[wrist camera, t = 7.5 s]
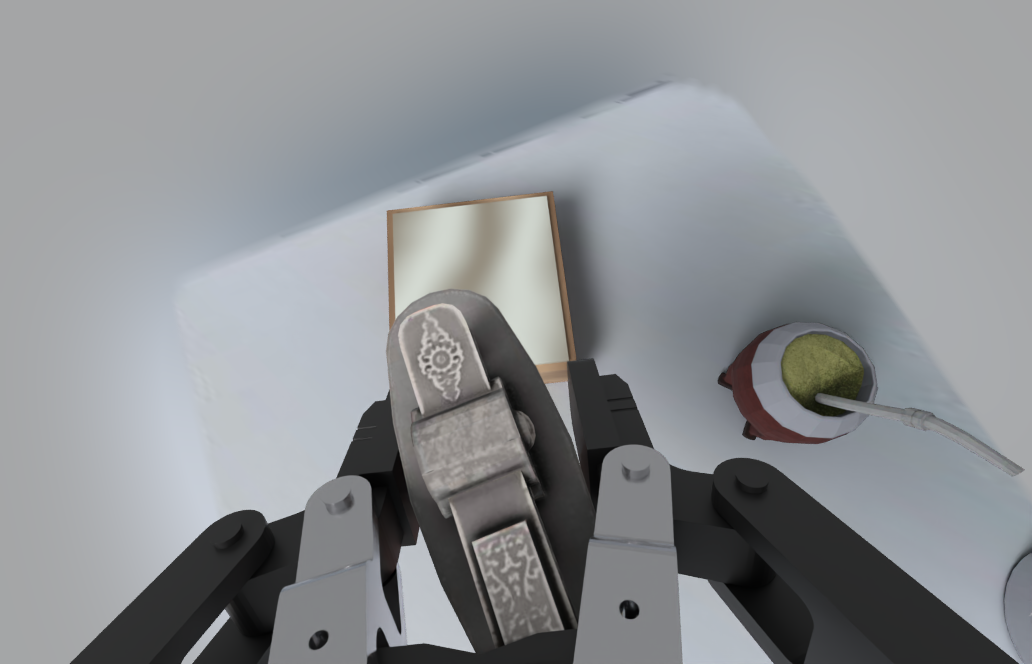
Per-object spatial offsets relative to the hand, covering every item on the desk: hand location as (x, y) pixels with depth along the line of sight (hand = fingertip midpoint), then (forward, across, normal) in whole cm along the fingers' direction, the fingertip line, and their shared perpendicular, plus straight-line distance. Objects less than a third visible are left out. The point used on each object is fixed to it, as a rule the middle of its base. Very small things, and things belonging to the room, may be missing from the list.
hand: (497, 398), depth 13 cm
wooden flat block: (+22, +2, +7) cm, 24 cm away
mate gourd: (+16, -17, +14) cm, 27 cm away
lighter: (+2, 0, +4) cm, 5 cm away
